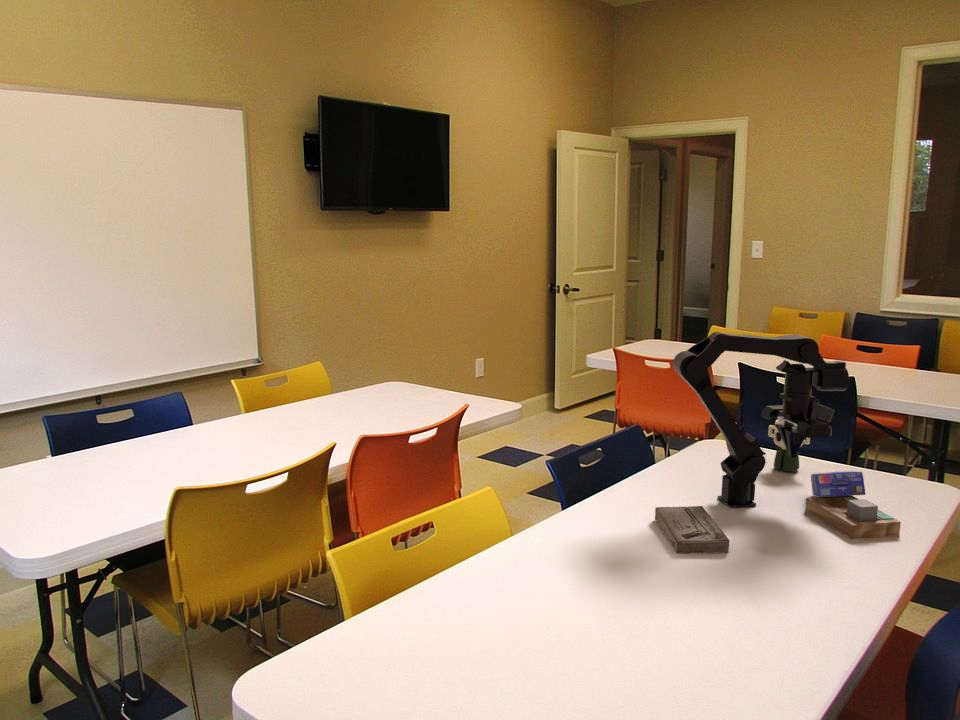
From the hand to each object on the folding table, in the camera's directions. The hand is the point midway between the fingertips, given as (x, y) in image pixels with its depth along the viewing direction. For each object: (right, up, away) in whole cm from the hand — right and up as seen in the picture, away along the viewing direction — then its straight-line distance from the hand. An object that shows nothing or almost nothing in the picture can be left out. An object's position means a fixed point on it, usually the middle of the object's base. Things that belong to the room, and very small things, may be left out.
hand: (792, 457), depth 170 cm
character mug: (+9, -7, +25) cm, 28 cm away
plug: (+9, -14, -14) cm, 21 cm away
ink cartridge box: (+12, -7, +6) cm, 15 cm away
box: (-28, -15, -16) cm, 36 cm away
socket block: (+8, -13, -10) cm, 18 cm away
